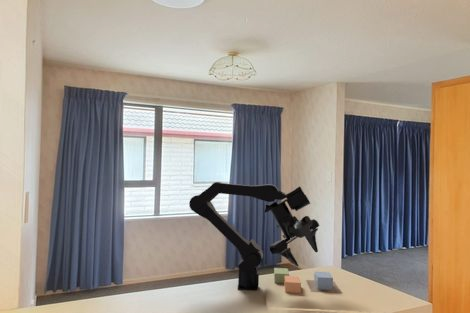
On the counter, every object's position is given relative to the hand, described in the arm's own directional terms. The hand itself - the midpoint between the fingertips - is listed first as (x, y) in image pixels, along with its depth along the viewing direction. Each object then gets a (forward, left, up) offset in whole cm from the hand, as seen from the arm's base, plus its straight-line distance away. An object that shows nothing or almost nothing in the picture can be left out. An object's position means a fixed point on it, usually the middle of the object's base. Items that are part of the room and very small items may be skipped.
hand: (307, 259), depth 116 cm
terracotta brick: (-5, 0, -11) cm, 12 cm away
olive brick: (-8, +9, -11) cm, 16 cm away
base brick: (+6, +4, -10) cm, 12 cm away
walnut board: (+6, +4, -10) cm, 13 cm away
